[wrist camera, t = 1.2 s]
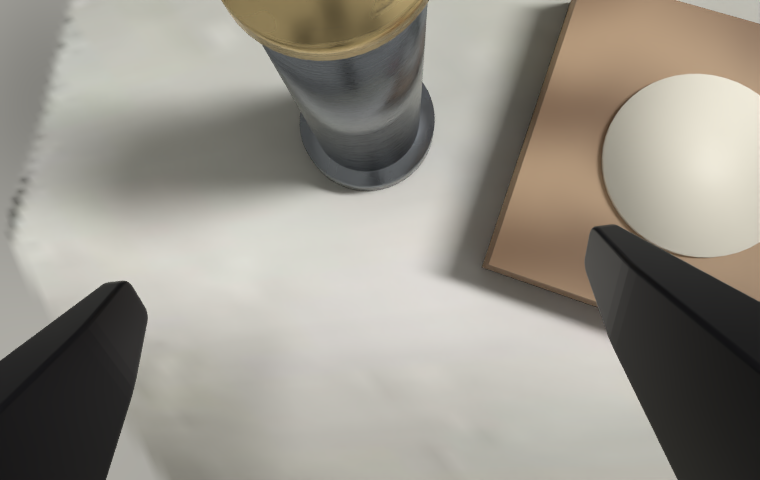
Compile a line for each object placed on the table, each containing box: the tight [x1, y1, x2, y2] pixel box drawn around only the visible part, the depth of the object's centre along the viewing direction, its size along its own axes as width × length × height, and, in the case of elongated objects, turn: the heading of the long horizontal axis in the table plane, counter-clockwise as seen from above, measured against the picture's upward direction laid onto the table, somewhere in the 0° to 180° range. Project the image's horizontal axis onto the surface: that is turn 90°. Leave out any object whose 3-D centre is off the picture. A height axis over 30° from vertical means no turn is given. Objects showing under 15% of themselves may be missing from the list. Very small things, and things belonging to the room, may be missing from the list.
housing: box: [222, 0, 434, 191], centre depth 17 cm, size 6×6×13 cm
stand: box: [482, 0, 760, 307], centre depth 21 cm, size 14×14×2 cm
